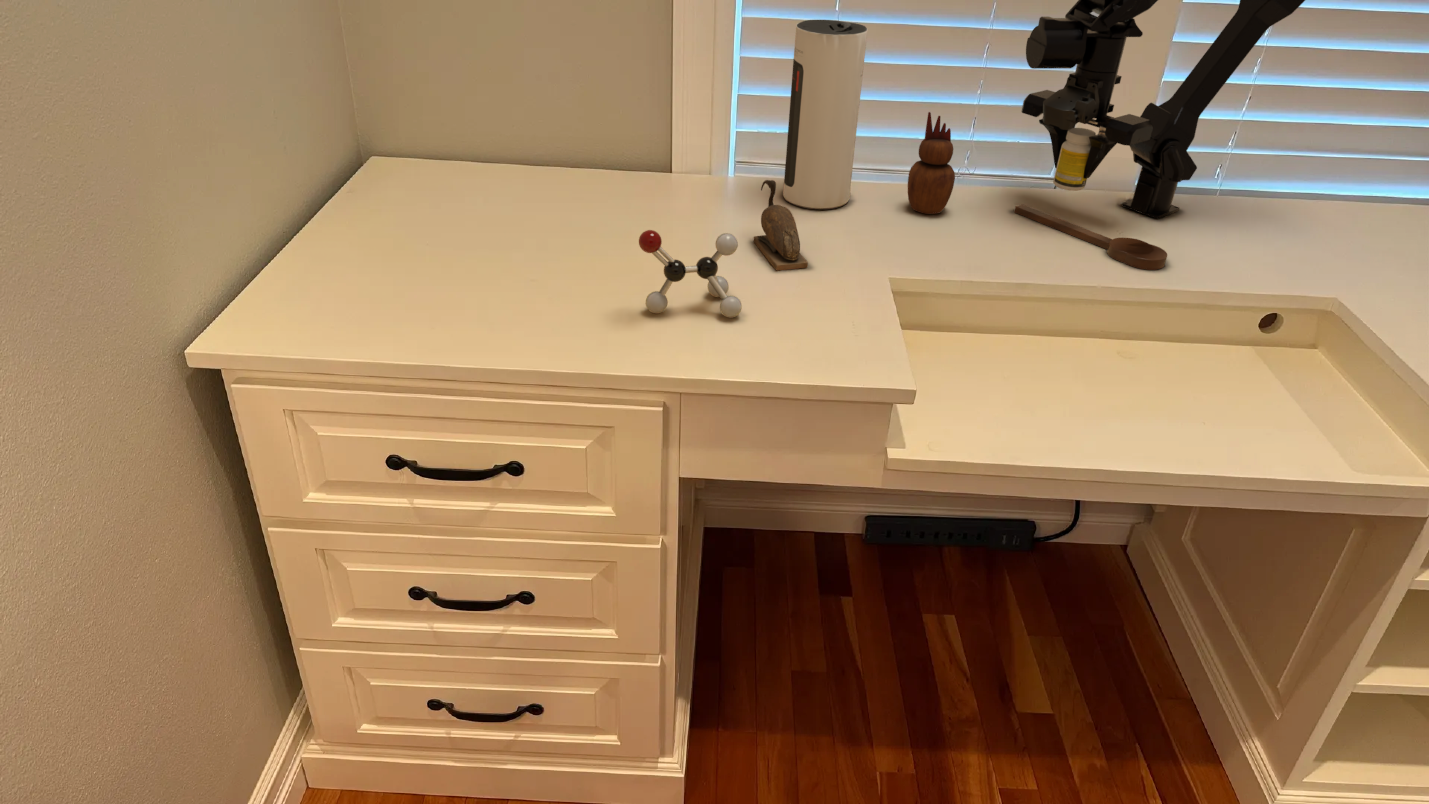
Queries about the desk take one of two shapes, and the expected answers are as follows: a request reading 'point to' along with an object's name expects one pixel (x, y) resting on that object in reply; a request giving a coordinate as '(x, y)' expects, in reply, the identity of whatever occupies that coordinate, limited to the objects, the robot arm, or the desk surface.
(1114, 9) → the robot arm
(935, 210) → the wooden figurine
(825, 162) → the speaker
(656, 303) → the molecular model
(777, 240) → the figurine
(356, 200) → the desk surface
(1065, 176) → the supplement bottle
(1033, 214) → the wooden spoon
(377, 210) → the desk surface
